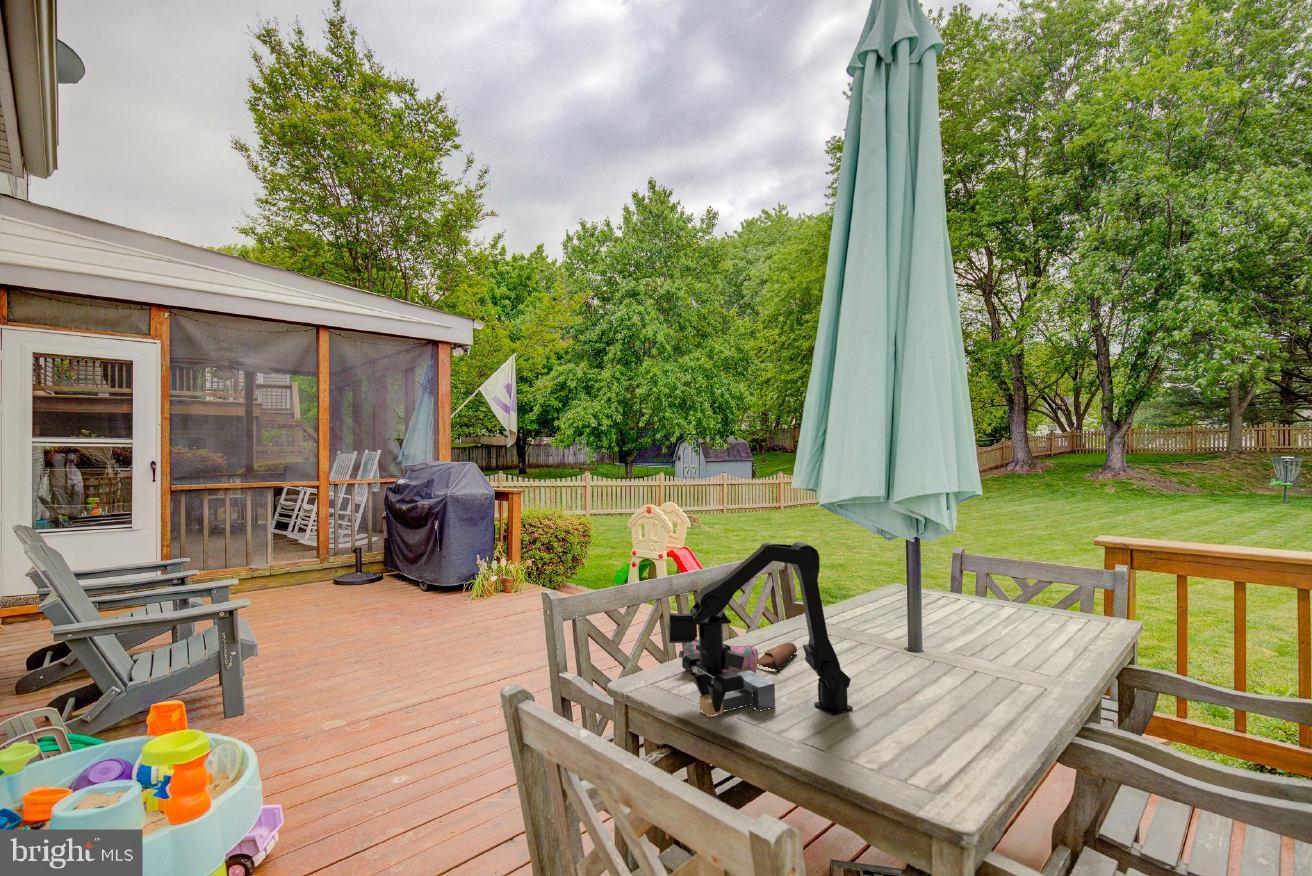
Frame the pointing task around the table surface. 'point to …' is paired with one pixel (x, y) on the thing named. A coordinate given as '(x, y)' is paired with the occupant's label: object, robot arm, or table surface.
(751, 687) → the grey arch block
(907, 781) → the table surface
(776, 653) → the sunglasses case
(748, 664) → the pencil case
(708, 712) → the plug
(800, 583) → the robot arm
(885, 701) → the table surface
